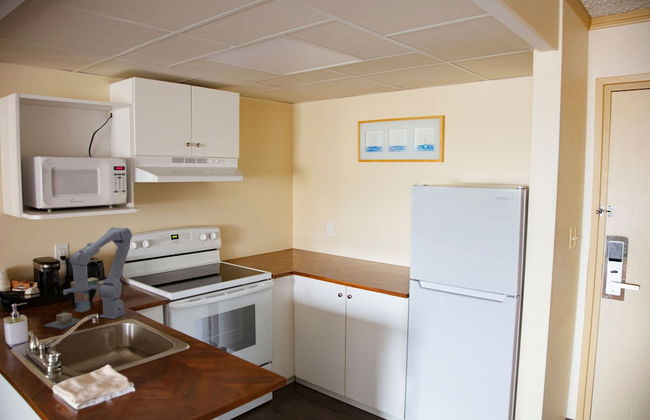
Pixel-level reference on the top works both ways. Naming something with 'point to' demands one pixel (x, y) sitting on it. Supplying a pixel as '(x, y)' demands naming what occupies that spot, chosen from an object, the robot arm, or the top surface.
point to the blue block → (82, 305)
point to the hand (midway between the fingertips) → (82, 307)
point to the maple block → (64, 318)
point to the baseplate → (60, 326)
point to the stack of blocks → (85, 294)
